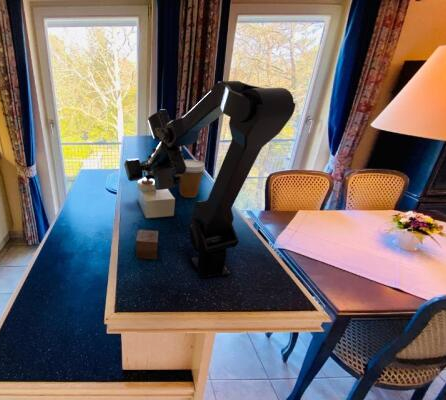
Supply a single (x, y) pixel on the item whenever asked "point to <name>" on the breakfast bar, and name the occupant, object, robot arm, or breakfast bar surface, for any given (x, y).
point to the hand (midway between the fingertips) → (147, 178)
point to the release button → (147, 181)
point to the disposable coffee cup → (191, 178)
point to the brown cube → (146, 244)
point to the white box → (155, 201)
